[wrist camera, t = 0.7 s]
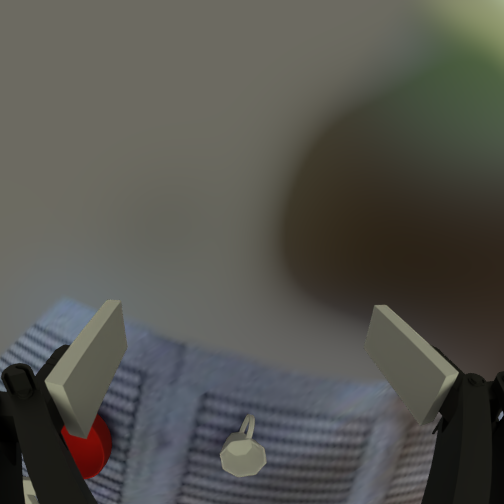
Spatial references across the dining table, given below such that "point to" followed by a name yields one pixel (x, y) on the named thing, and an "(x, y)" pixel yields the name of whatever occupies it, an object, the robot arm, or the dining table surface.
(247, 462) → the cup
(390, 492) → the dining table surface
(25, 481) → the socket plate
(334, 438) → the dining table surface
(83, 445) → the ceramic cup
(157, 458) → the dining table surface
